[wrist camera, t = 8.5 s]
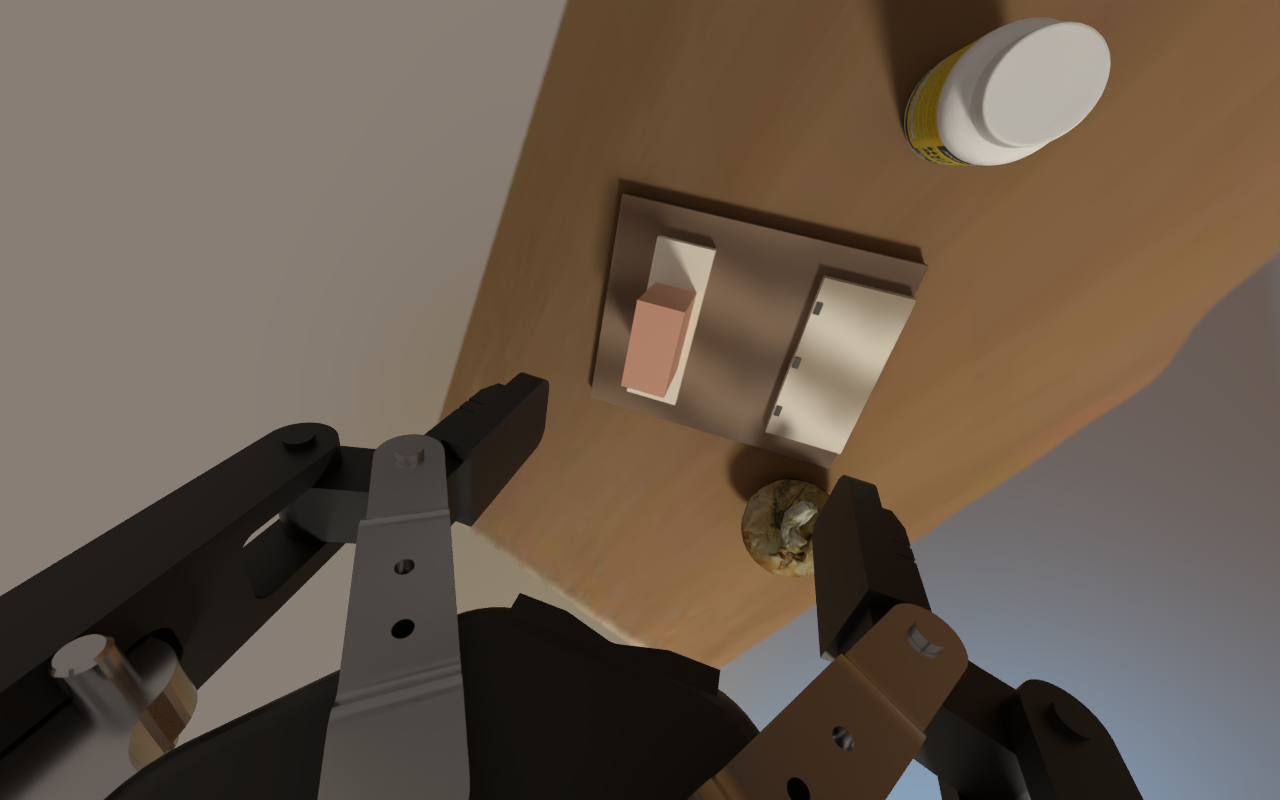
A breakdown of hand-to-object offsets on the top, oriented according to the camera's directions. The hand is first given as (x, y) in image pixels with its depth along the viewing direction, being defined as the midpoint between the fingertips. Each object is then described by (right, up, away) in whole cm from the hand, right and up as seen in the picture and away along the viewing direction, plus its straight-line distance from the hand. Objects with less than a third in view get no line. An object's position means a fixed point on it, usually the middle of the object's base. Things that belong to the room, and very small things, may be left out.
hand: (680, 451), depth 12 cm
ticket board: (+6, +6, +22) cm, 24 cm away
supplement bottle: (+17, +18, +14) cm, 28 cm away
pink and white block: (+1, +7, +22) cm, 23 cm away
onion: (+12, -7, +28) cm, 31 cm away
